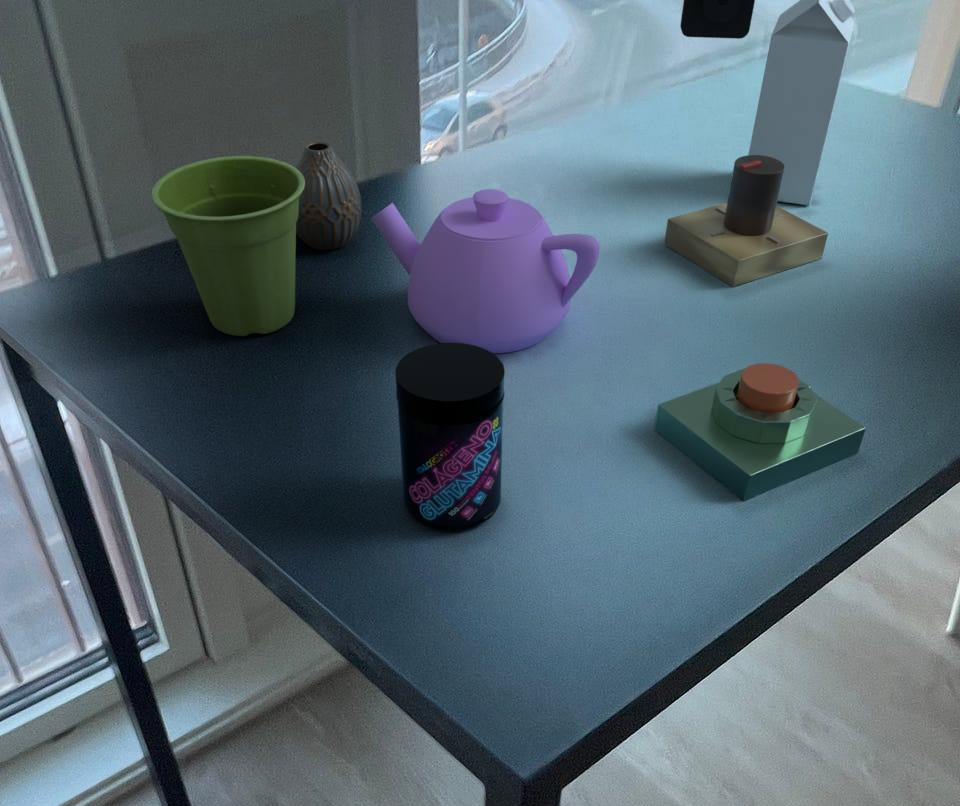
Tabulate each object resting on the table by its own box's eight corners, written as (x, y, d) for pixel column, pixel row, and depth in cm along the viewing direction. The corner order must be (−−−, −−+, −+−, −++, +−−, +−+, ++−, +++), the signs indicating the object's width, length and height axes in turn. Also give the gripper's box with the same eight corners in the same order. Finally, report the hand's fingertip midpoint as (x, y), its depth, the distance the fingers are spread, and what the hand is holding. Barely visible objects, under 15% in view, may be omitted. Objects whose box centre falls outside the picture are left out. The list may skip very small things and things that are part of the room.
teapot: (411, 261, 94) (405, 142, 86) (615, 304, 89) (629, 181, 81) (339, 330, 85) (326, 204, 78) (561, 382, 80) (571, 252, 72)
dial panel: (750, 219, 101) (755, 192, 99) (822, 258, 95) (829, 231, 93) (663, 244, 97) (667, 216, 95) (733, 287, 91) (738, 258, 89)
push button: (766, 378, 74) (771, 357, 73) (805, 404, 72) (811, 383, 70) (724, 394, 72) (729, 372, 71) (763, 421, 70) (768, 399, 69)
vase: (302, 262, 94) (290, 165, 87) (284, 232, 98) (271, 137, 92) (373, 250, 96) (366, 154, 89) (352, 221, 100) (343, 127, 94)
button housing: (764, 388, 79) (775, 342, 77) (858, 452, 74) (873, 405, 71) (654, 429, 75) (661, 382, 73) (743, 501, 70) (755, 453, 67)
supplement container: (386, 521, 68) (375, 386, 60) (428, 466, 72) (423, 333, 65) (478, 547, 66) (479, 411, 59) (515, 488, 70) (521, 355, 63)
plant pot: (209, 280, 91) (184, 150, 83) (336, 291, 90) (322, 160, 82) (159, 346, 83) (125, 210, 75) (297, 360, 82) (278, 223, 74)
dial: (749, 211, 96) (761, 147, 92) (781, 228, 94) (795, 164, 89) (713, 221, 95) (725, 157, 90) (745, 239, 92) (758, 174, 88)
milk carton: (739, 198, 104) (780, -15, 91) (749, 172, 109) (789, -34, 95) (809, 207, 103) (861, -8, 89) (816, 180, 108) (866, -28, 94)
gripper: (936, -516, 33) (806, 64, 45) (834, -485, 45) (753, -34, 57) (705, -520, 33) (638, 58, 45) (665, -489, 45) (621, -38, 57)
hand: (702, 6), depth 51 cm, fingers open, 9 cm apart
